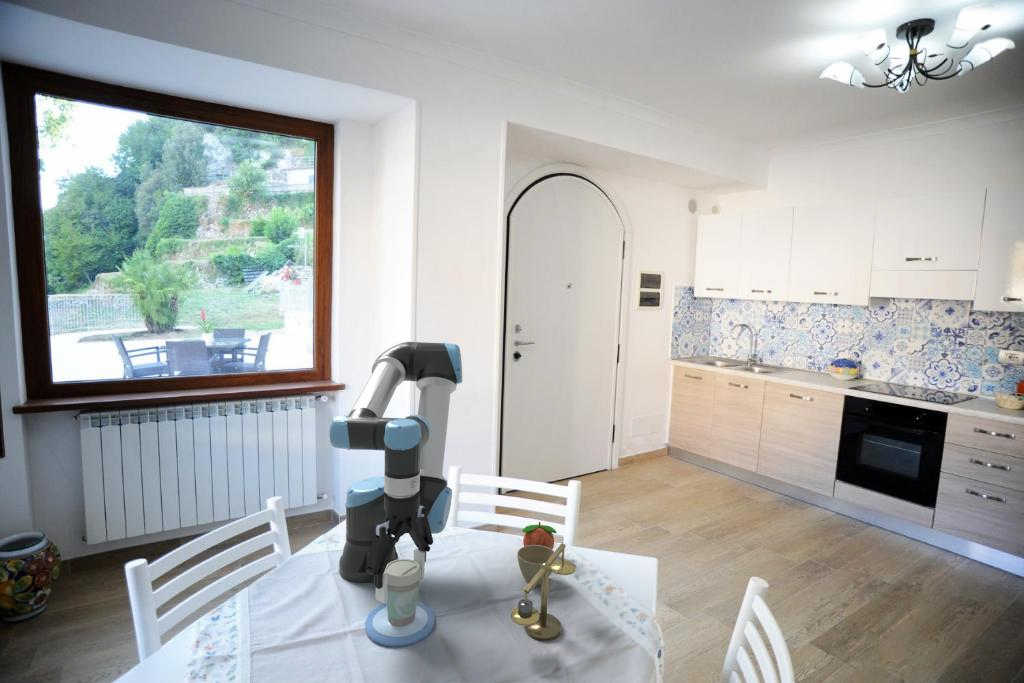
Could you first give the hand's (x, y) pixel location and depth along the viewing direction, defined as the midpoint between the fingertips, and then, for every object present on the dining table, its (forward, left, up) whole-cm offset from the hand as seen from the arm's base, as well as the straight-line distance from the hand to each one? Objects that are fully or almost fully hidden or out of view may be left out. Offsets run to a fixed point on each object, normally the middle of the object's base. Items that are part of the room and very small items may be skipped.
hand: (400, 588), depth 123 cm
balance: (+26, +18, -8) cm, 33 cm away
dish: (0, 0, -8) cm, 8 cm away
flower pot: (+14, +34, -9) cm, 38 cm away
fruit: (+8, +45, -9) cm, 47 cm away
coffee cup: (0, 0, -7) cm, 7 cm away
